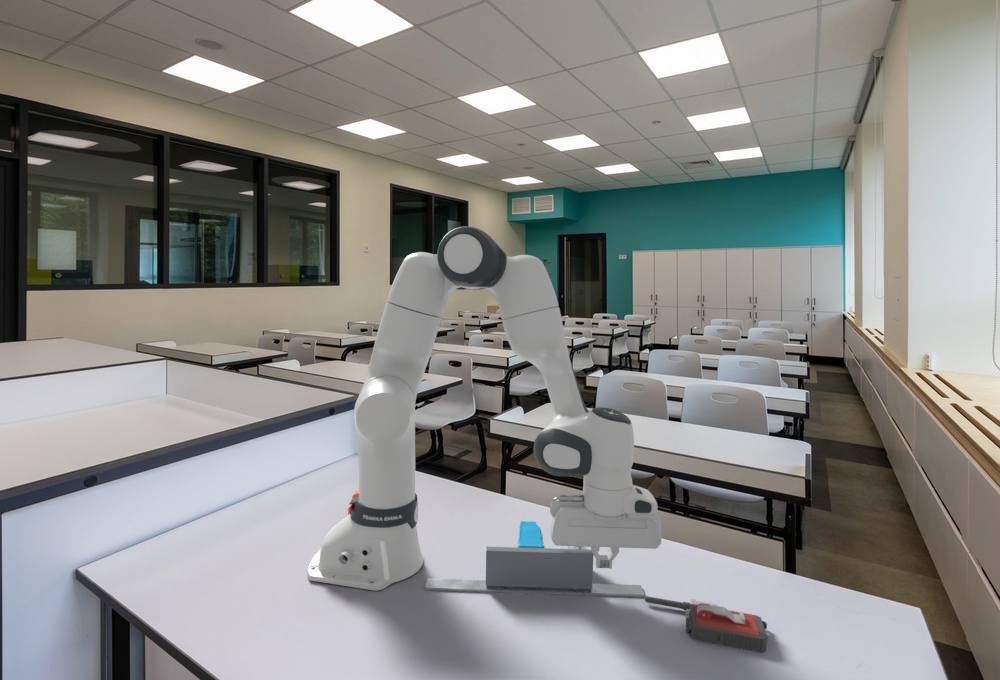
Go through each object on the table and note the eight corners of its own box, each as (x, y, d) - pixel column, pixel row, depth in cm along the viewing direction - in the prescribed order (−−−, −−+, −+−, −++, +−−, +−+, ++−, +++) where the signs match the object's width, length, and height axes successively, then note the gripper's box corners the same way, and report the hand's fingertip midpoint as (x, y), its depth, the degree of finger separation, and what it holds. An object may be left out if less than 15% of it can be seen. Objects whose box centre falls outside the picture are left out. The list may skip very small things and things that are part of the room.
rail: (424, 590, 98) (424, 587, 98) (427, 580, 101) (427, 578, 101) (644, 597, 97) (644, 594, 97) (640, 587, 100) (640, 585, 100)
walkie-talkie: (763, 623, 91) (644, 602, 97) (765, 599, 91) (645, 579, 96) (774, 658, 83) (643, 632, 88) (776, 632, 82) (645, 608, 88)
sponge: (544, 522, 125) (520, 518, 126) (544, 548, 113) (518, 543, 114) (543, 528, 126) (519, 524, 126) (543, 554, 114) (517, 550, 114)
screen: (485, 585, 99) (486, 550, 98) (486, 581, 100) (486, 546, 99) (592, 589, 98) (593, 553, 97) (590, 584, 100) (592, 549, 99)
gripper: (551, 501, 94) (549, 574, 95) (666, 505, 93) (662, 577, 95) (549, 487, 100) (547, 555, 102) (656, 490, 100) (652, 559, 101)
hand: (603, 566), depth 98 cm, fingers closed
